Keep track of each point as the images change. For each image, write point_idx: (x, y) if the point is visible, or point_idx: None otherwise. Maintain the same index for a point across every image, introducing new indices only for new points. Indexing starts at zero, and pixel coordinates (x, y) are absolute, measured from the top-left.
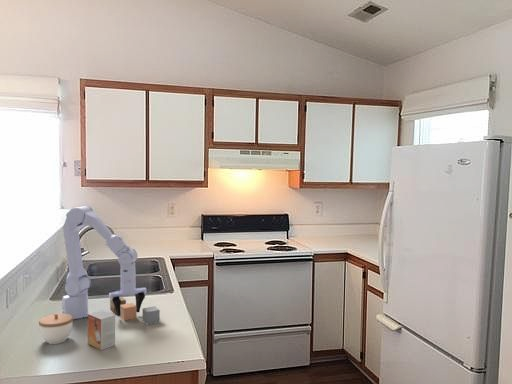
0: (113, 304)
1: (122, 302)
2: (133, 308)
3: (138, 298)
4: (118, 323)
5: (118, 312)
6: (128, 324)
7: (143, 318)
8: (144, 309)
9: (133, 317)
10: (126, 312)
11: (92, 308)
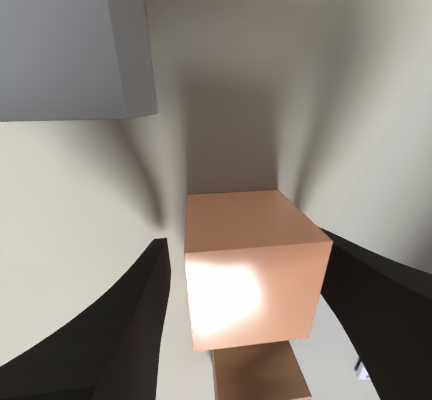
0: (300, 376)
1: (242, 388)
2: (219, 237)
3: (128, 374)
4: (330, 156)
5: (342, 239)
6: (285, 90)
7: (149, 83)
8: (101, 43)
9: (211, 197)
10: (283, 217)
11: (319, 389)
